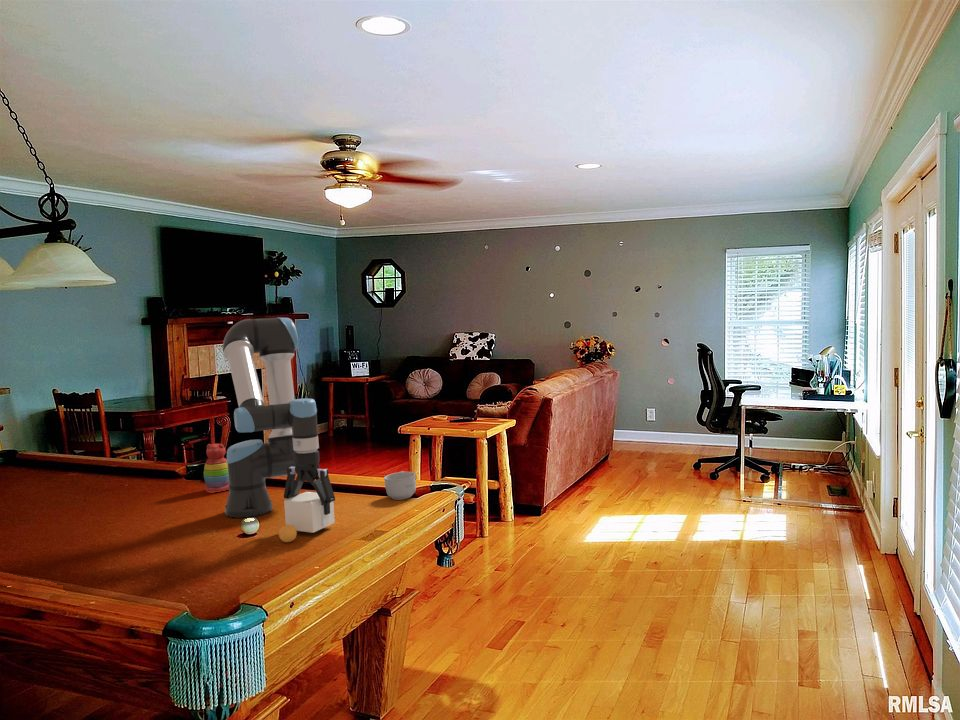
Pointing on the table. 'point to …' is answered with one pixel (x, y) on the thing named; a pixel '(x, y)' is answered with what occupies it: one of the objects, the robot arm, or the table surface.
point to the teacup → (400, 485)
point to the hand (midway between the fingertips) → (310, 523)
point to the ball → (287, 533)
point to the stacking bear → (216, 468)
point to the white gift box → (306, 512)
